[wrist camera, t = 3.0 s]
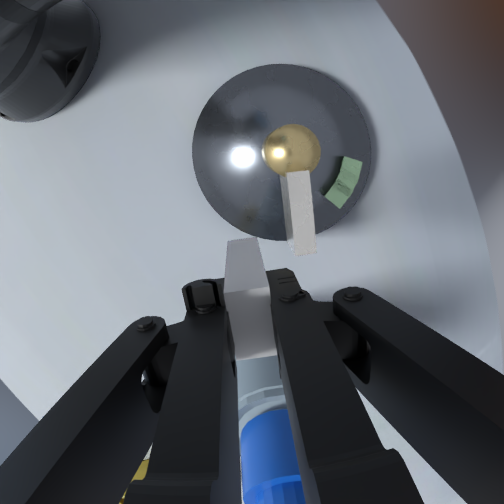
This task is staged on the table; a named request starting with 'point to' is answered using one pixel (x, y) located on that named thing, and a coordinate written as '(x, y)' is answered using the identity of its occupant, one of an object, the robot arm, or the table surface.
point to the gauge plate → (254, 133)
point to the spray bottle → (266, 436)
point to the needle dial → (295, 181)
